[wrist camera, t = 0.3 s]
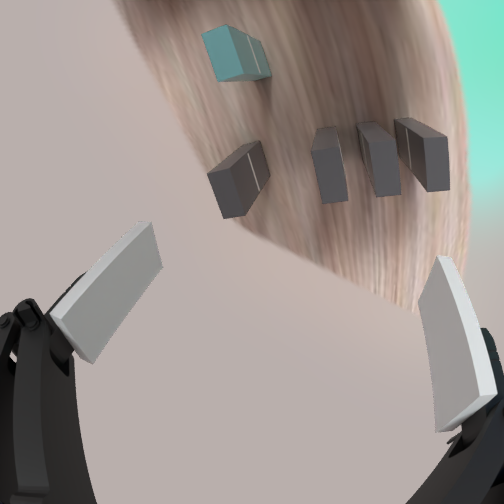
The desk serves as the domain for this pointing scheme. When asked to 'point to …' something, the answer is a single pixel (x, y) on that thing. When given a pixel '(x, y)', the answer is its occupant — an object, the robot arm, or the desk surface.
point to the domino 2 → (239, 179)
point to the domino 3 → (329, 166)
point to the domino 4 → (380, 158)
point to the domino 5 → (424, 153)
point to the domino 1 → (235, 55)
